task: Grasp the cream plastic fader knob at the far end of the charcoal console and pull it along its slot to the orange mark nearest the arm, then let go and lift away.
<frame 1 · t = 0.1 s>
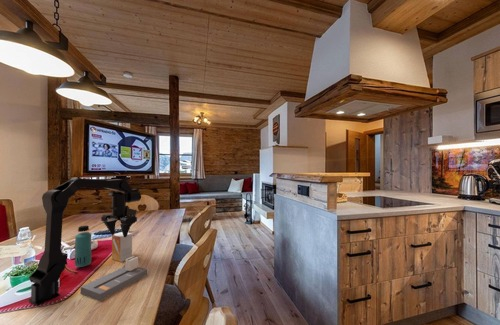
hand: (118, 235, 103), 14 cm above the table, fingers open, 9 cm apart
fader knob: (132, 264, 93), point 5 cm above the table, slide at 14.0 cm
console: (116, 283, 86), on the table
beverage bottle: (83, 267, 101), on the table
small box: (122, 258, 110), on the table
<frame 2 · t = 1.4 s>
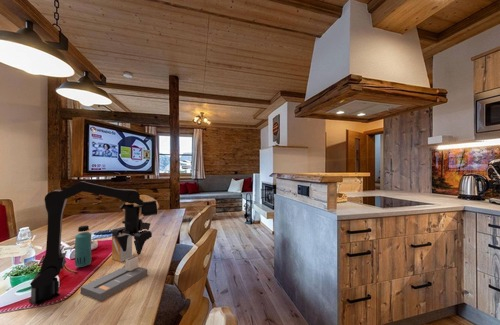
hand: (131, 252, 93), 10 cm above the table, fingers open, 9 cm apart
nothing on the table moved.
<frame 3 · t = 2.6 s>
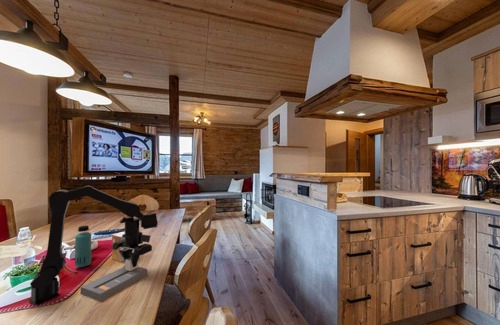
hand: (132, 266, 93), 4 cm above the table, fingers closed on fader knob, 3 cm apart
fader knob: (132, 264, 93), point 5 cm above the table, slide at 14.0 cm, touching gripper
everything else where it was.
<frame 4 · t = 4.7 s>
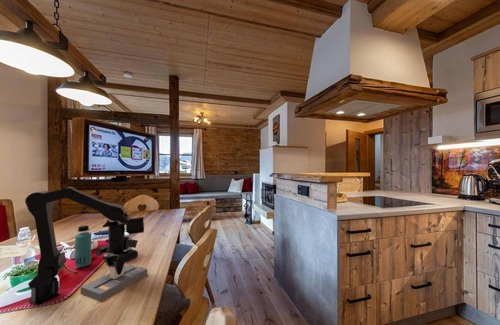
hand: (116, 273, 87), 4 cm above the table, fingers closed on fader knob, 3 cm apart
fader knob: (116, 271, 87), point 5 cm above the table, slide at 7.1 cm, touching gripper
everything else where it was.
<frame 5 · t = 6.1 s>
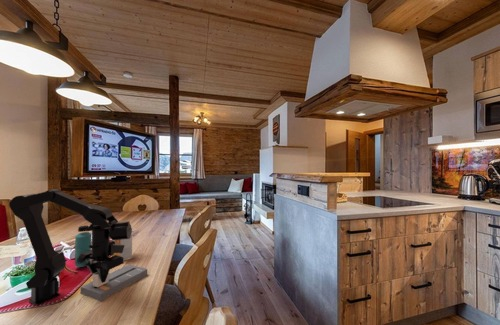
hand: (100, 281, 81), 4 cm above the table, fingers closed on fader knob, 3 cm apart
fader knob: (100, 279, 81), point 5 cm above the table, slide at 0.8 cm, touching gripper
everything else where it was.
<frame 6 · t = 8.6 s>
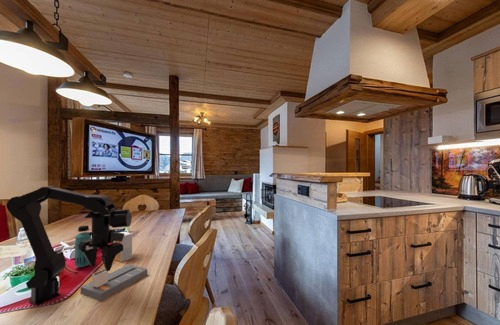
hand: (100, 268, 81), 9 cm above the table, fingers open, 9 cm apart
fader knob: (100, 279, 81), point 5 cm above the table, slide at 0.5 cm
everything else where it was.
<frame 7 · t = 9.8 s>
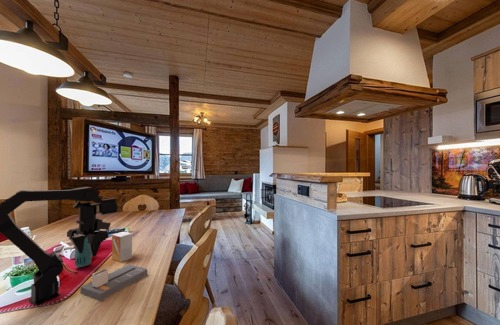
hand: (87, 254, 87), 12 cm above the table, fingers open, 9 cm apart
nothing on the table moved.
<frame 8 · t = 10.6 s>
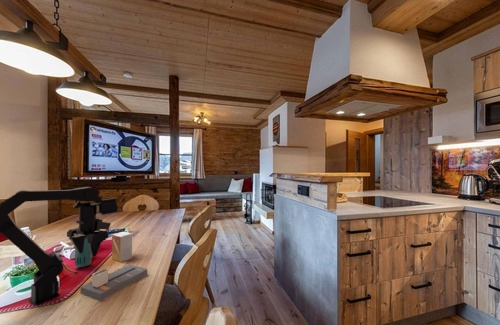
hand: (87, 254, 87), 12 cm above the table, fingers open, 9 cm apart
nothing on the table moved.
at the end: fader knob slide at 0.5 cm; the gripper is holding nothing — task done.
